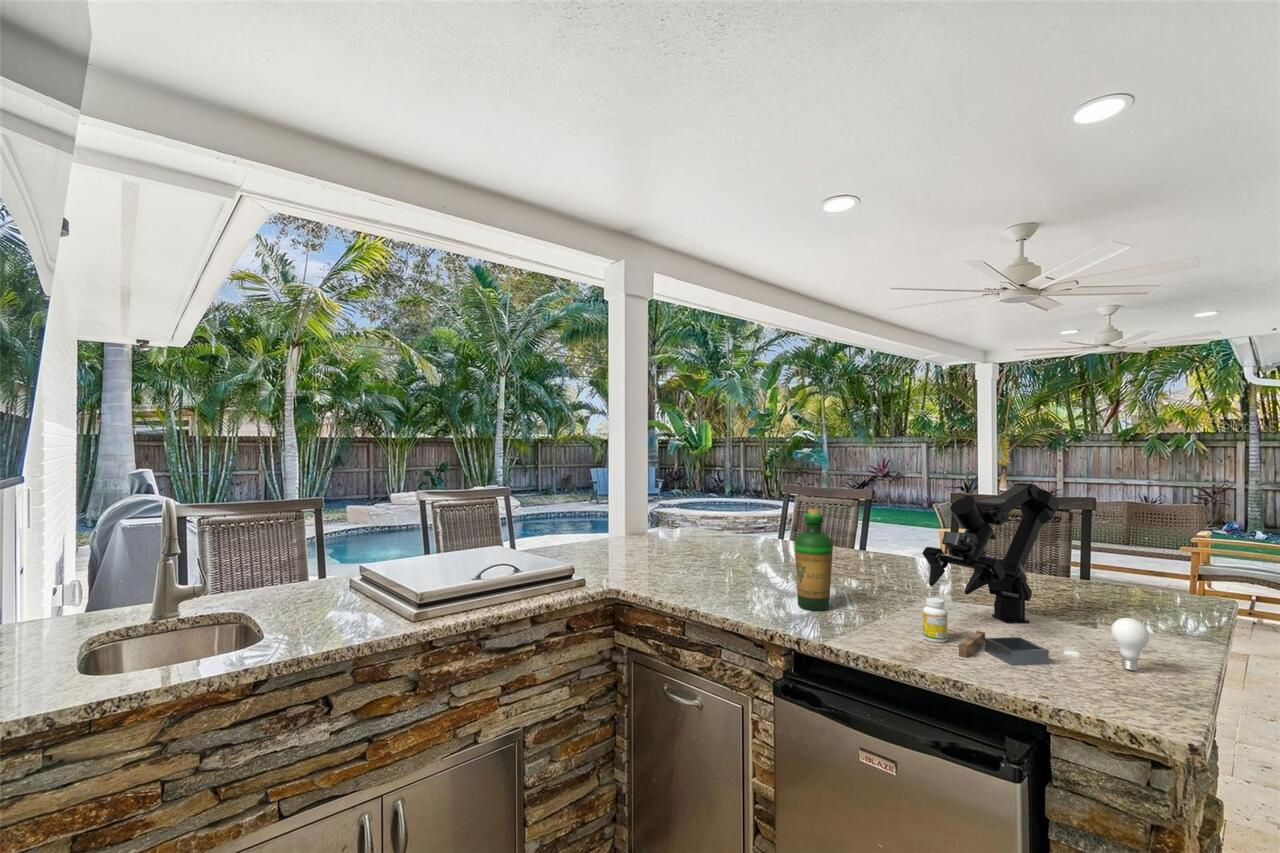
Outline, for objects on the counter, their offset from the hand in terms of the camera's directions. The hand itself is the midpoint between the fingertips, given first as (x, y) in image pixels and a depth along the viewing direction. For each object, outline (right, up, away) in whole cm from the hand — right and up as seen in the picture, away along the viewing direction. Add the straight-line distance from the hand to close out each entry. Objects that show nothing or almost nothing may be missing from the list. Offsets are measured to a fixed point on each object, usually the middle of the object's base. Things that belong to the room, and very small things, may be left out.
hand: (947, 589), depth 150 cm
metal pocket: (+8, -11, -15) cm, 20 cm away
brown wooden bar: (+1, -11, -10) cm, 15 cm away
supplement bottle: (-4, -12, -3) cm, 13 cm away
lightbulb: (+27, -12, -22) cm, 37 cm away
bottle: (-26, -12, +24) cm, 38 cm away
